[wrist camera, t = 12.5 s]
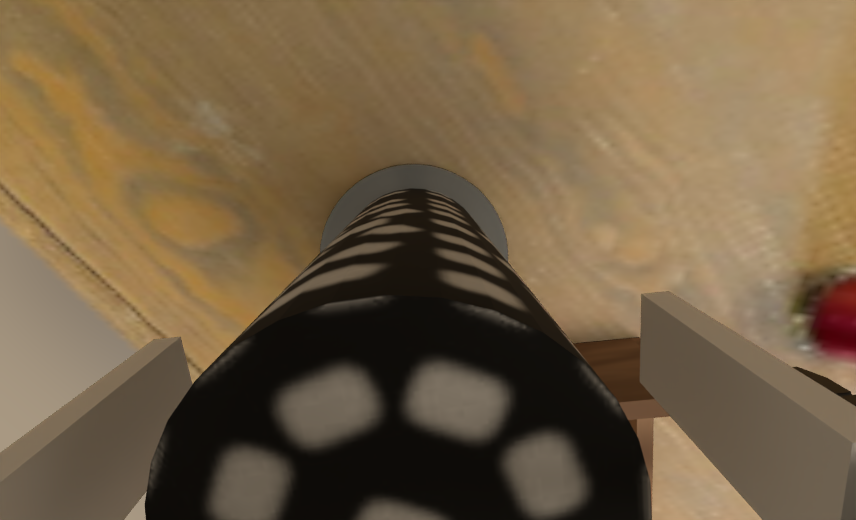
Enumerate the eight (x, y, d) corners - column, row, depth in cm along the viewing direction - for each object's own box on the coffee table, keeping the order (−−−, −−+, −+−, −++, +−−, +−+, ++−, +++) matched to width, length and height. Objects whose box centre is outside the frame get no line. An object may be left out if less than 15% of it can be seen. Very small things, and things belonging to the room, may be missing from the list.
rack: (440, 356, 29) (447, 418, 22) (638, 337, 29) (705, 394, 22) (457, 528, 32) (467, 630, 25) (637, 512, 32) (695, 609, 25)
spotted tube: (325, 300, 28) (98, 657, 8) (369, 166, 26) (216, 213, 6) (455, 344, 28) (533, 765, 9) (507, 217, 27) (743, 396, 7)
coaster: (308, 174, 26) (306, 174, 26) (500, 154, 26) (502, 155, 26) (336, 351, 29) (334, 355, 28) (511, 334, 29) (513, 338, 28)
